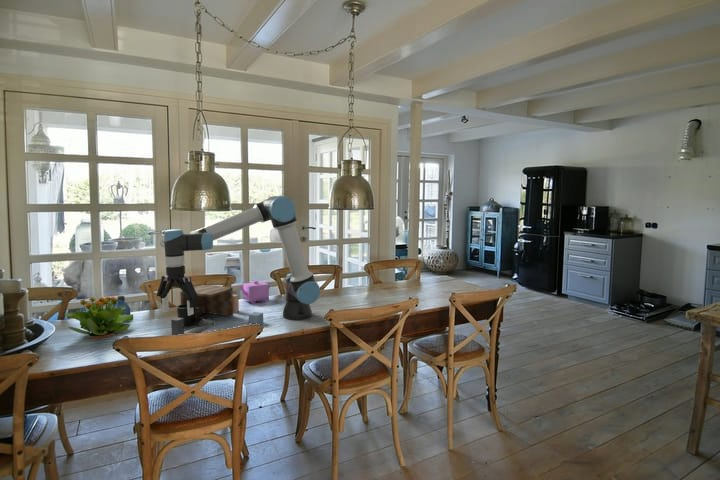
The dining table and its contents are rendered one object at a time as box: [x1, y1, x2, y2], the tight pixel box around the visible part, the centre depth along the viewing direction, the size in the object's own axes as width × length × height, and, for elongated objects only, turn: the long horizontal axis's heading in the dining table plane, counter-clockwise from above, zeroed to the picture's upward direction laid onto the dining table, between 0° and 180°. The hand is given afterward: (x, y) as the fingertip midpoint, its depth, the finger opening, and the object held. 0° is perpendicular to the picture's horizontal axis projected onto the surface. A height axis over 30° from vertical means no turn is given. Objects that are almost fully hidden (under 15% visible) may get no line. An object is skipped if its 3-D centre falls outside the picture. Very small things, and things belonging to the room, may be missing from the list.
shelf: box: [179, 284, 234, 317], centre depth 214 cm, size 18×18×15 cm
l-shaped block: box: [233, 294, 240, 313], centre depth 229 cm, size 16×4×9 cm, turn 71°
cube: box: [248, 311, 264, 325], centre depth 207 cm, size 5×5×5 cm
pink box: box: [236, 280, 271, 305], centre depth 248 cm, size 20×10×12 cm, turn 124°
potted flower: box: [64, 296, 134, 340], centre depth 185 cm, size 25×24×18 cm
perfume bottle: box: [113, 295, 131, 315], centre depth 210 cm, size 6×6×12 cm
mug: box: [176, 304, 203, 328], centre depth 203 cm, size 8×12×10 cm
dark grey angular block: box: [170, 316, 215, 336], centre depth 194 cm, size 13×24×9 cm, turn 158°
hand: (178, 313), depth 182 cm, fingers open, 13 cm apart
